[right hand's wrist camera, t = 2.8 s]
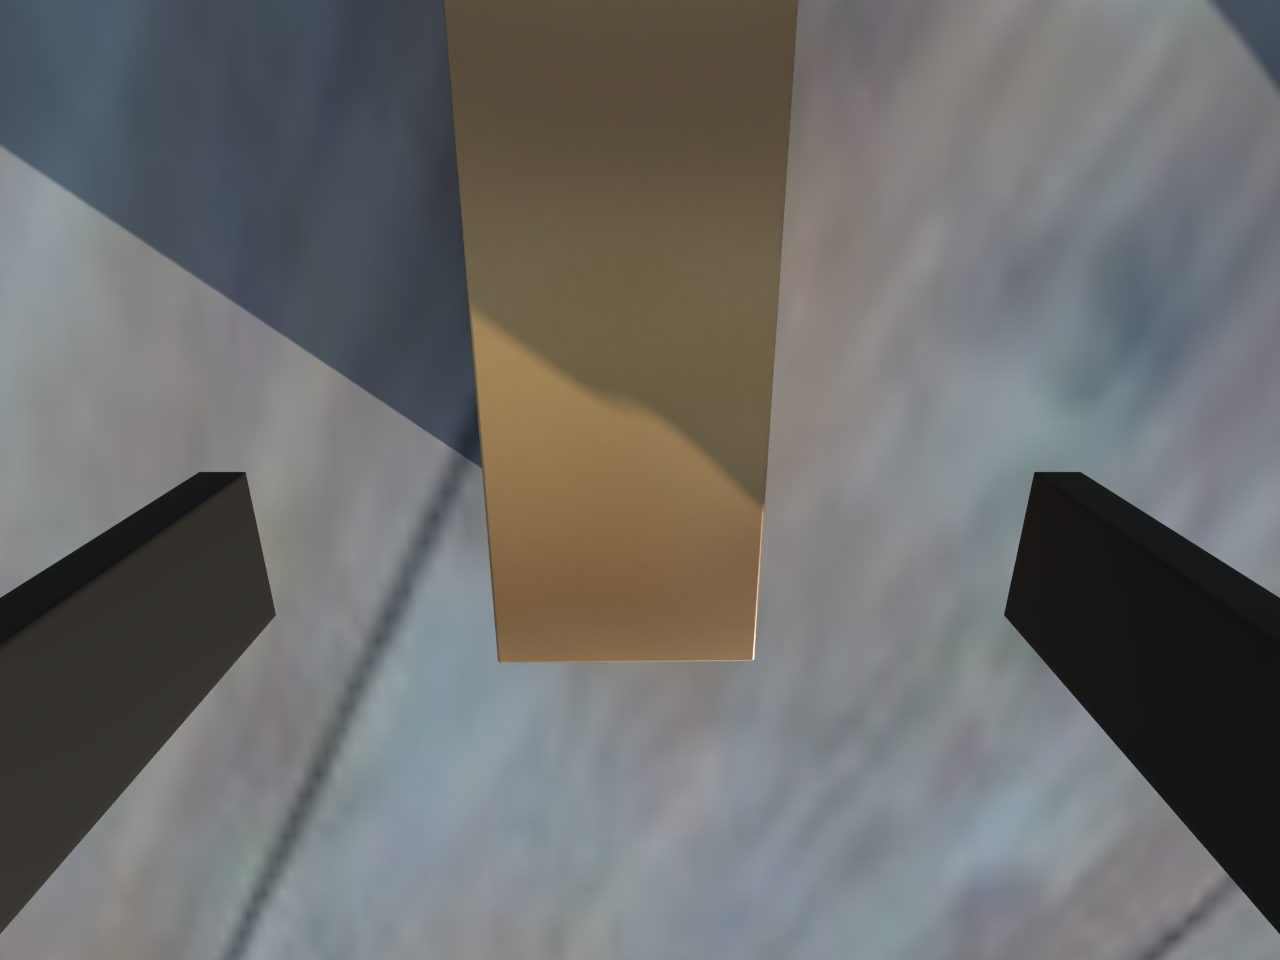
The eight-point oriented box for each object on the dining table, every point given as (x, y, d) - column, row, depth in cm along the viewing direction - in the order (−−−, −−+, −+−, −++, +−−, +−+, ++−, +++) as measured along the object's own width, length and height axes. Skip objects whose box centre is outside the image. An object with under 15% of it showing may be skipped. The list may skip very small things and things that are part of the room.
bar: (713, 509, 22) (754, 662, 15) (541, 510, 22) (497, 664, 15) (754, -508, 14) (881, -1249, 7) (488, -510, 14) (337, -1261, 7)
